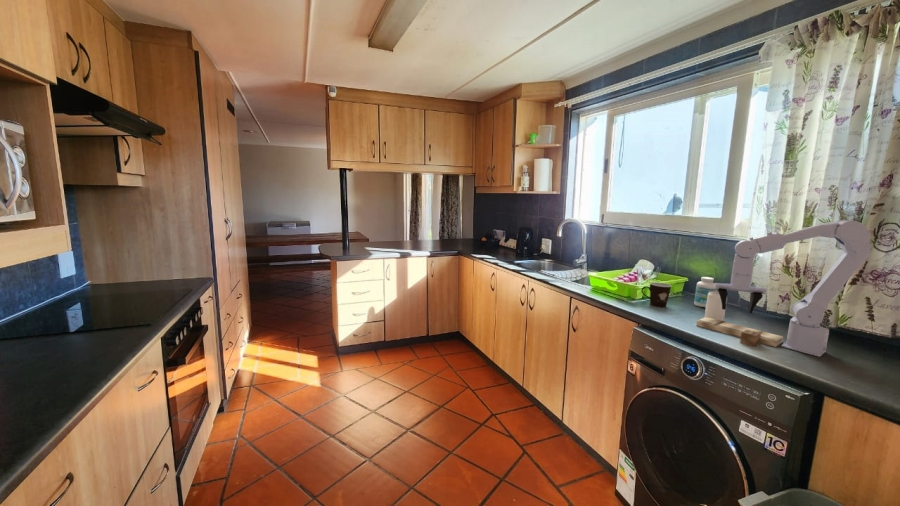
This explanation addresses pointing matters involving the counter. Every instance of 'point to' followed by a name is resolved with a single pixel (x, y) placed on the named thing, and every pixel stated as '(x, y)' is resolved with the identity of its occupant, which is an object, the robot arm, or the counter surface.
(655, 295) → the coffee mug
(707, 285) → the pill bottle
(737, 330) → the maple board
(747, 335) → the brown wooden cube
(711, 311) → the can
